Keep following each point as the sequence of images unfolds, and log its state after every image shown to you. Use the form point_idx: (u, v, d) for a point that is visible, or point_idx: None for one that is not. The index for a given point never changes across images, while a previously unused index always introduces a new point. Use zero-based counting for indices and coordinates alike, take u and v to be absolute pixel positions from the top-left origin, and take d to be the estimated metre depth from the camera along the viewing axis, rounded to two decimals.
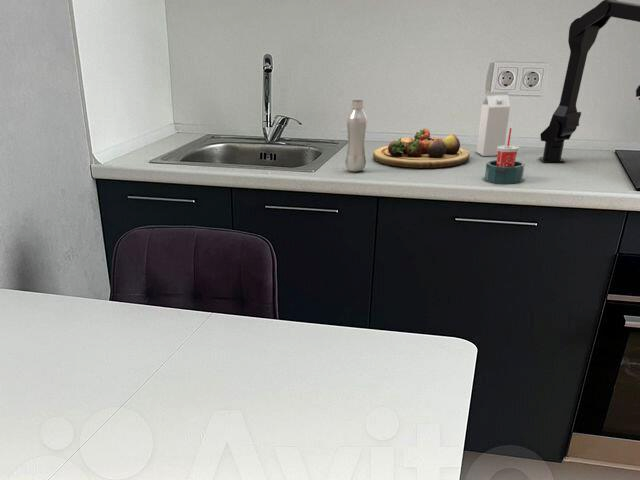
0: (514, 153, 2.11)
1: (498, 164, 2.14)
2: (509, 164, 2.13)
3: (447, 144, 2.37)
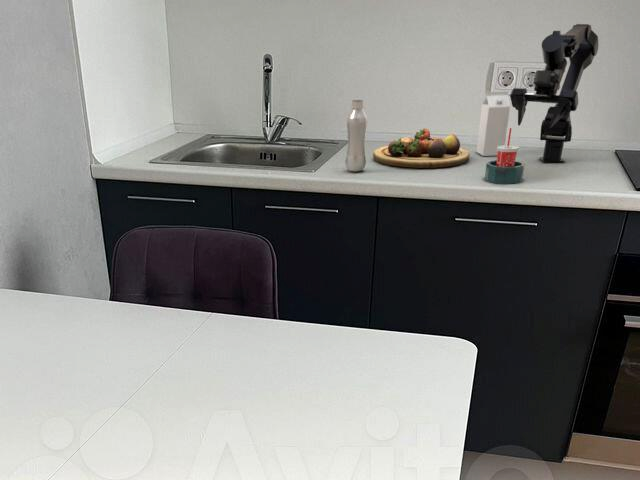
0: (514, 153, 2.11)
1: (498, 164, 2.14)
2: (509, 164, 2.13)
3: (447, 144, 2.37)
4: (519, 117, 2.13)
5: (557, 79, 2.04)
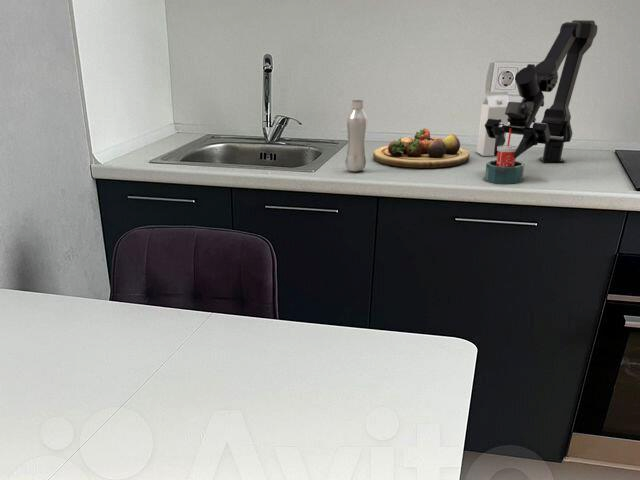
0: (514, 153, 2.11)
1: (498, 164, 2.14)
2: (509, 164, 2.13)
3: (447, 144, 2.37)
4: (495, 147, 2.14)
5: (527, 111, 2.05)
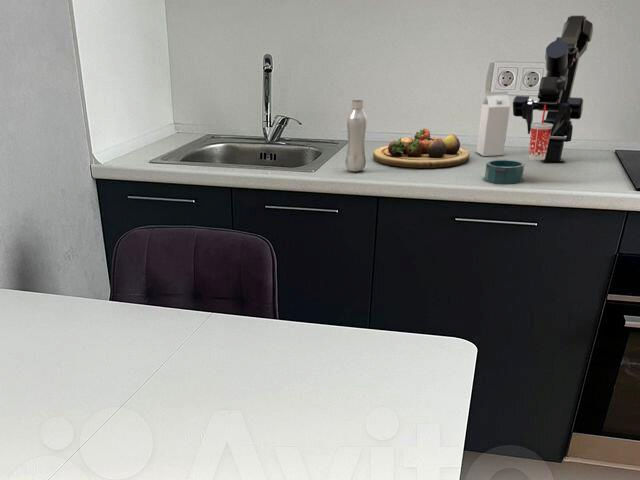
0: (550, 130, 2.05)
1: (533, 142, 2.07)
2: (545, 142, 2.06)
3: (447, 144, 2.37)
4: (529, 125, 2.06)
5: (563, 86, 1.99)
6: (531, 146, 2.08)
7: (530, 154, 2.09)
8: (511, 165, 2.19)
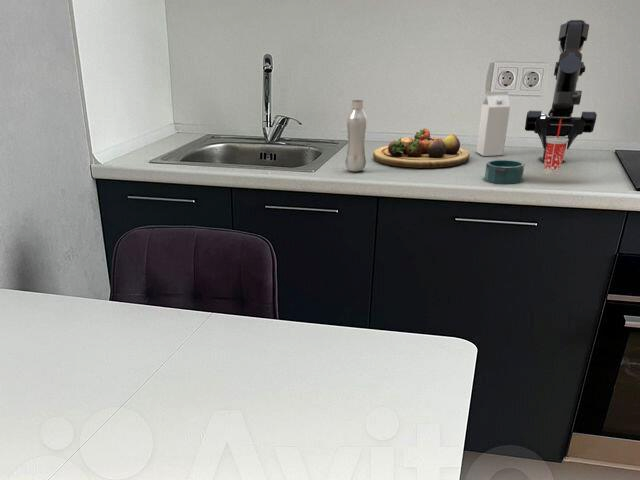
0: (566, 144, 2.06)
1: (550, 157, 2.07)
2: (561, 156, 2.07)
3: (447, 144, 2.37)
4: (544, 140, 2.07)
5: (579, 100, 2.00)
6: (548, 160, 2.08)
7: (546, 168, 2.10)
8: (511, 165, 2.19)
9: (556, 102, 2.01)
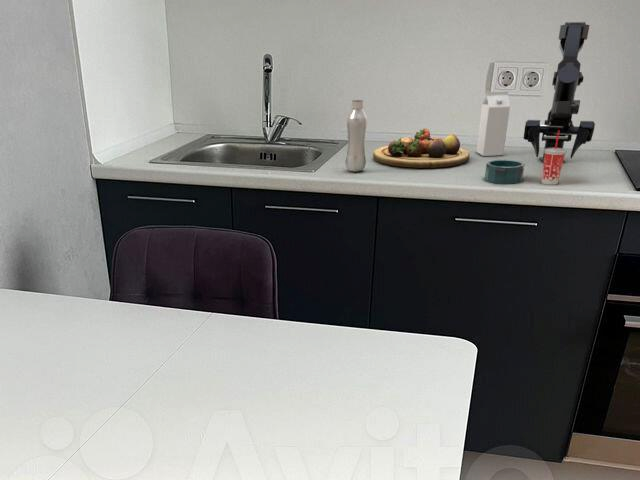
0: (564, 155, 2.07)
1: (548, 167, 2.09)
2: (559, 167, 2.08)
3: (447, 144, 2.37)
4: (537, 149, 2.08)
5: (577, 110, 2.02)
6: (546, 170, 2.10)
7: (544, 179, 2.11)
8: (511, 165, 2.19)
9: (554, 111, 2.02)
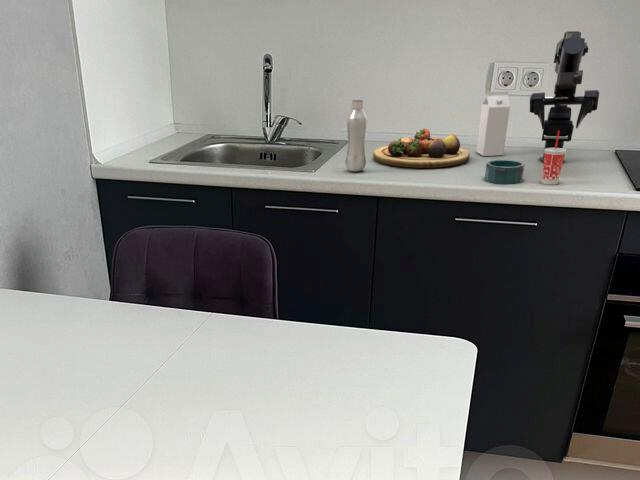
0: (564, 155, 2.07)
1: (548, 167, 2.09)
2: (559, 167, 2.08)
3: (447, 144, 2.37)
4: (543, 121, 2.12)
5: (580, 80, 2.05)
6: (546, 170, 2.10)
7: (544, 179, 2.11)
8: (511, 165, 2.19)
9: (557, 83, 2.06)
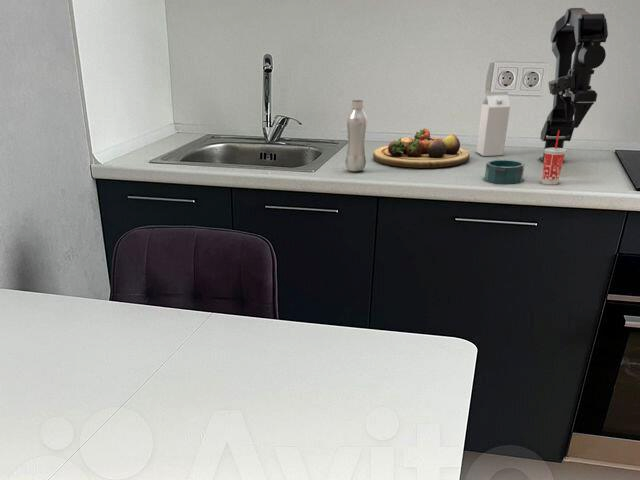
0: (564, 155, 2.07)
1: (548, 167, 2.09)
2: (559, 167, 2.08)
3: (447, 144, 2.37)
4: (566, 116, 2.21)
5: (557, 90, 2.09)
6: (546, 170, 2.10)
7: (544, 179, 2.11)
8: (511, 165, 2.19)
9: None
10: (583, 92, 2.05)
